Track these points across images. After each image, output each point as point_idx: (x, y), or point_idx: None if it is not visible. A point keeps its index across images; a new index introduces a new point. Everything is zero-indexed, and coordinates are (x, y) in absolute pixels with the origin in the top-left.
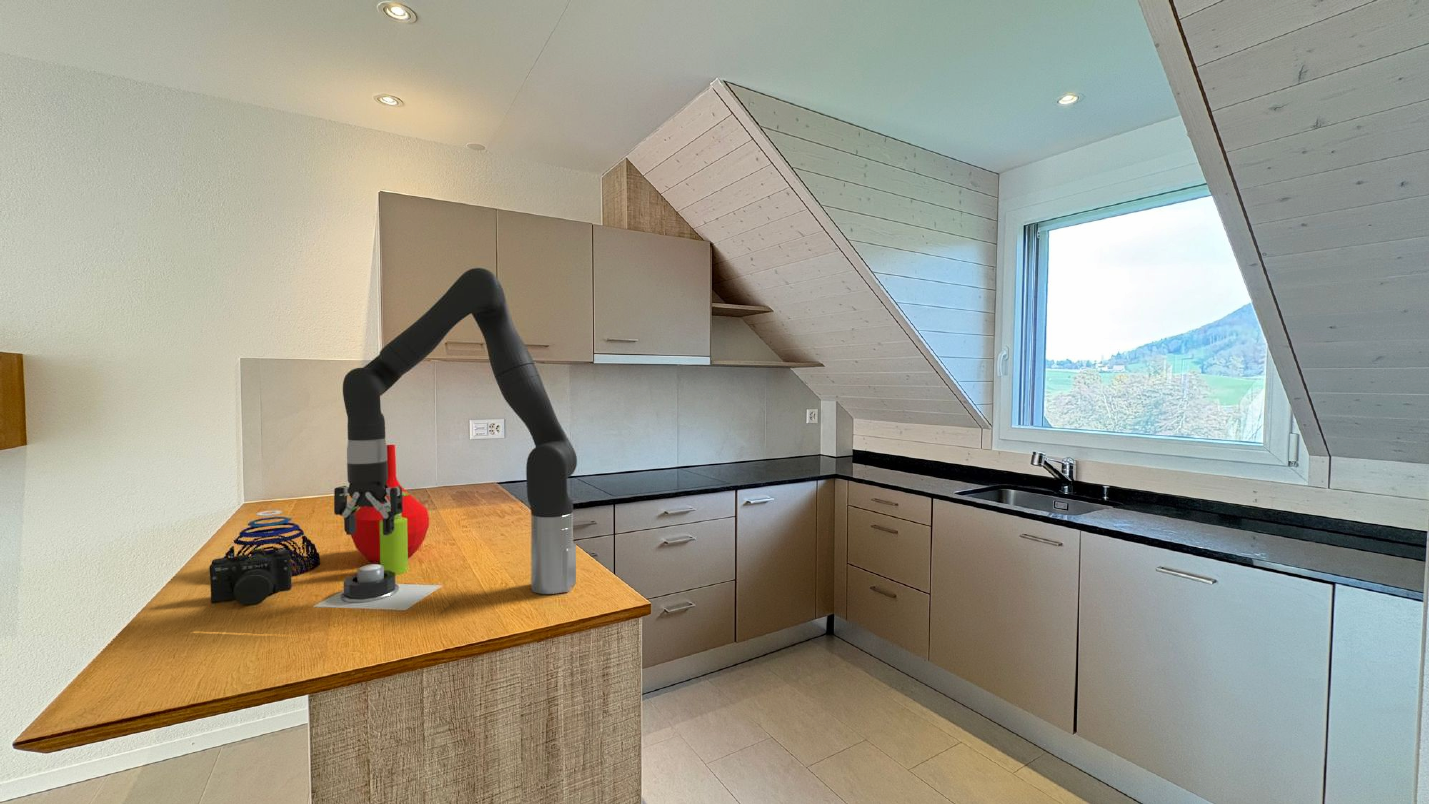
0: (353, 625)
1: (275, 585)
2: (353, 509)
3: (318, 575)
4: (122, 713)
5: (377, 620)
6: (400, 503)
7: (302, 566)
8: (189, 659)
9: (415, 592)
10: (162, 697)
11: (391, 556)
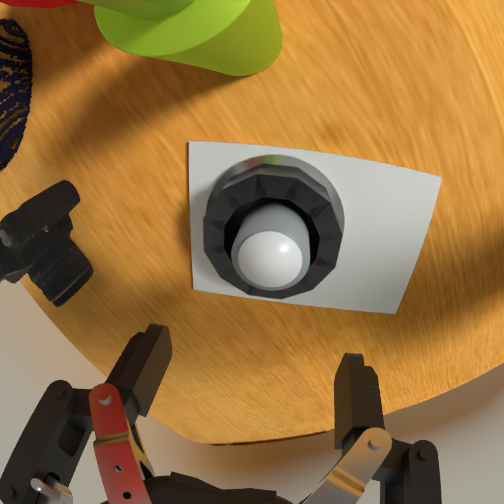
0: (321, 352)
1: (59, 220)
2: (143, 454)
3: (60, 95)
4: (217, 440)
5: (354, 339)
6: (428, 496)
7: (18, 95)
8: (178, 395)
9: (391, 223)
10: (225, 433)
11: (241, 67)
